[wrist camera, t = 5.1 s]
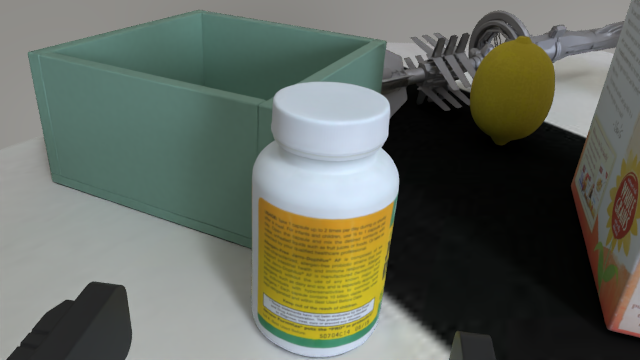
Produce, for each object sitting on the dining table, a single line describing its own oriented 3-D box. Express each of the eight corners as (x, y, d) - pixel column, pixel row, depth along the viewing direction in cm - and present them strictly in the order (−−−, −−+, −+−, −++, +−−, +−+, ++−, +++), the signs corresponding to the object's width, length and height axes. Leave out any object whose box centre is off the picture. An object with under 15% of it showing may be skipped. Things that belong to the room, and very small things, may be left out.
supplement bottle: (239, 285, 24) (236, 77, 20) (350, 266, 26) (370, 71, 22) (270, 377, 20) (275, 135, 15) (401, 346, 22) (440, 122, 17)
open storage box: (52, 181, 32) (26, 52, 28) (202, 107, 43) (198, 9, 40) (271, 255, 27) (274, 108, 23) (374, 148, 38) (387, 40, 35)
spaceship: (703, 16, 48) (638, -32, 52) (347, 91, 36) (301, 20, 40) (650, 85, 54) (596, 37, 58) (331, 169, 42) (292, 100, 46)
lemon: (548, 163, 38) (581, 49, 34) (468, 158, 38) (492, 43, 34) (526, 132, 43) (552, 29, 39) (455, 127, 43) (474, 24, 39)
